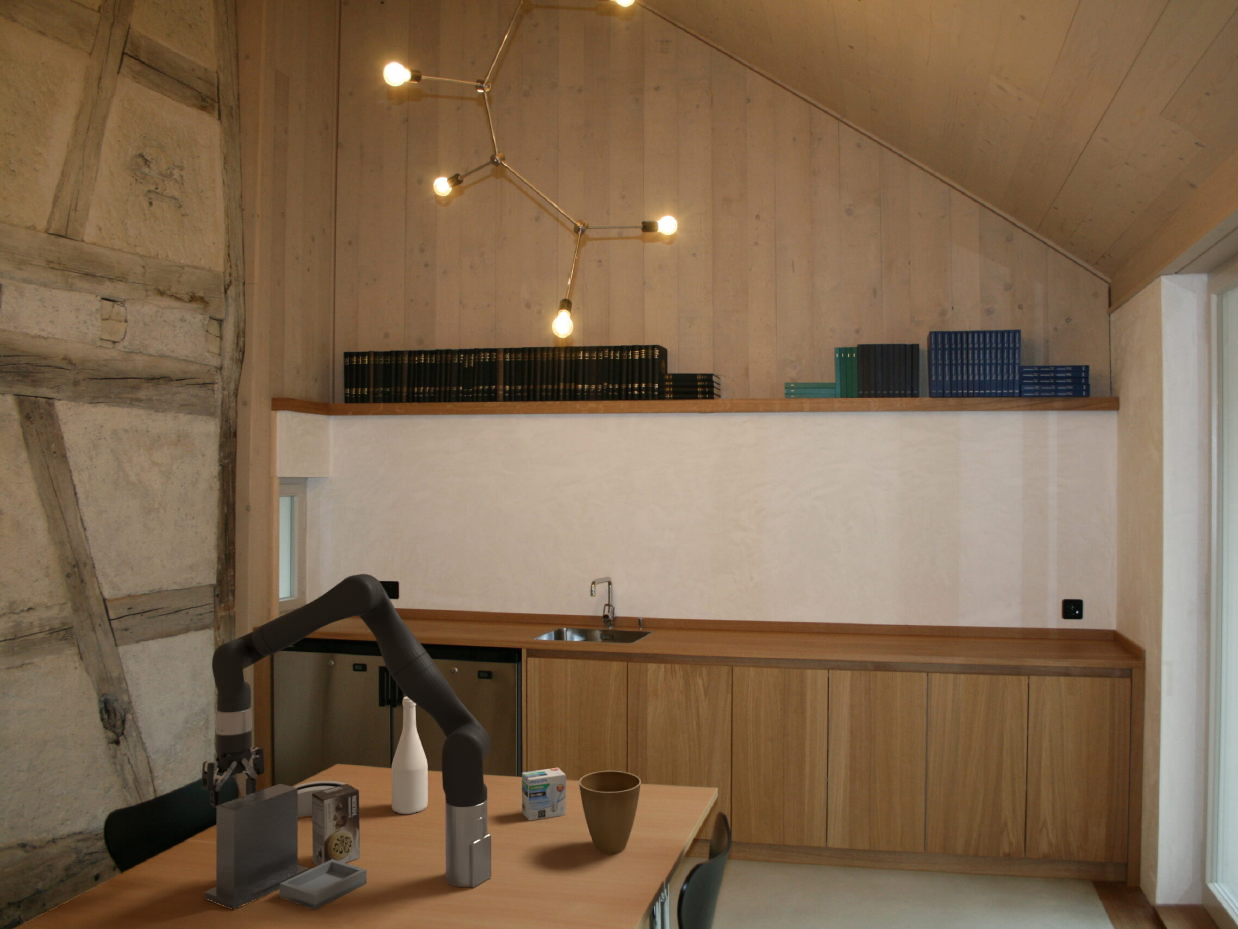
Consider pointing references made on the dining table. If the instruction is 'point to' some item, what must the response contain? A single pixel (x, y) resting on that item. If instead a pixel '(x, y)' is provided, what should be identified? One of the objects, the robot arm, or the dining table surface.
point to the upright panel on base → (256, 845)
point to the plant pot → (610, 807)
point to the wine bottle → (409, 767)
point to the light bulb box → (543, 793)
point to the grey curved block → (306, 794)
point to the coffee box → (336, 824)
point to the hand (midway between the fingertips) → (233, 801)
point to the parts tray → (323, 884)
